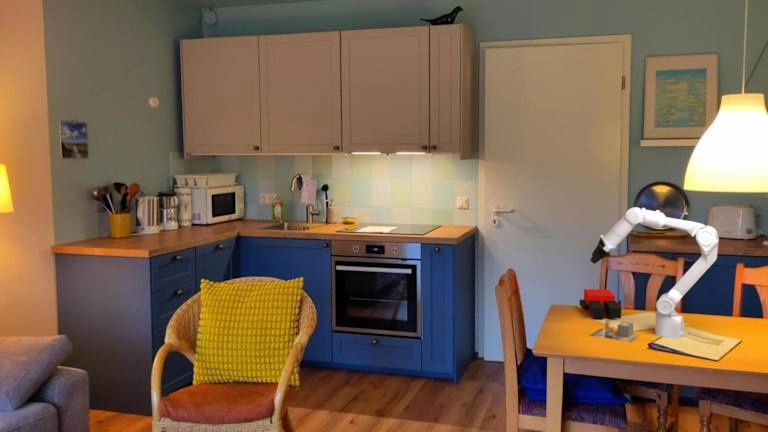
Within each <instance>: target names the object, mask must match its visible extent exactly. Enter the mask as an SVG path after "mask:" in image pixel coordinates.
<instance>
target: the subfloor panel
mask: <svg viewBox="0 0 768 432" xmlns="http://www.w3.org/2000/svg"><path fill="white" fill-rule="evenodd" d="M640 336H641V334H640V333H635V332H633V334H632V335H631V336H630V337H629V338H628V337H621V336H617V330H614V329H613V338H605V328H599V329H597V330H595V331H594V332H592V333H591V334H590V335H589V337H596V338H601V339H607V340H615V341H619V342H620V341H621V342H626V343H627V342H628V343H632V342H633V341H635V340H636V339H637V338H638V337H640Z"/></svg>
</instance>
